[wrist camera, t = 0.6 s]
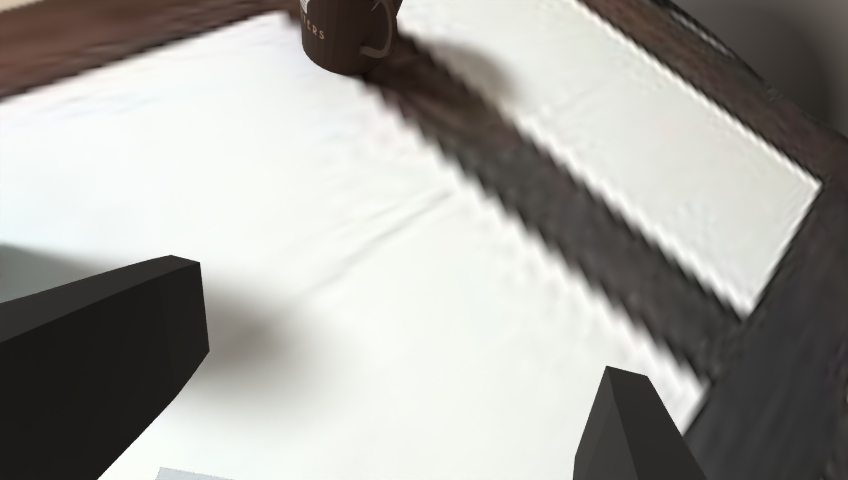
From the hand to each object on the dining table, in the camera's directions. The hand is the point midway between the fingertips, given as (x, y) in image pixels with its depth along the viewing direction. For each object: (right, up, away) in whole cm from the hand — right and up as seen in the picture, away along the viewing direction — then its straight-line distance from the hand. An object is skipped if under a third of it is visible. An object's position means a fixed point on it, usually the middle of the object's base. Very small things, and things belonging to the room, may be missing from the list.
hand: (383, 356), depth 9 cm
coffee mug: (-6, +17, +34) cm, 38 cm away
